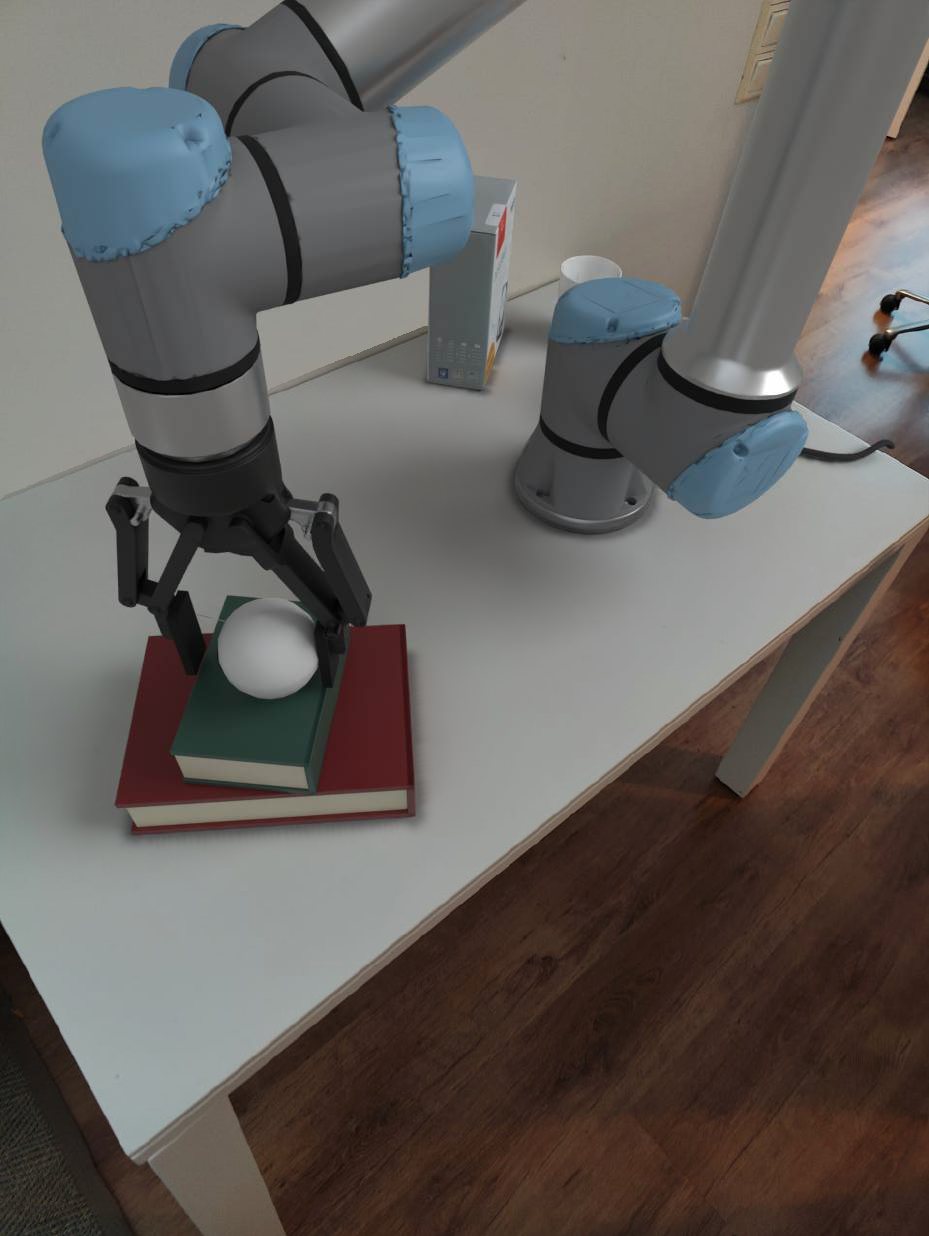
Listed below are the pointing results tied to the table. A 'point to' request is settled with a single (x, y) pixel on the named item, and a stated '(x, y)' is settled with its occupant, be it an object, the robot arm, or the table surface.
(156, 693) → the big book
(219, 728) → the small book
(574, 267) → the white cup
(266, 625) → the white smooth round ovoid
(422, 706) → the table surface
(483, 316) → the hard drive box
